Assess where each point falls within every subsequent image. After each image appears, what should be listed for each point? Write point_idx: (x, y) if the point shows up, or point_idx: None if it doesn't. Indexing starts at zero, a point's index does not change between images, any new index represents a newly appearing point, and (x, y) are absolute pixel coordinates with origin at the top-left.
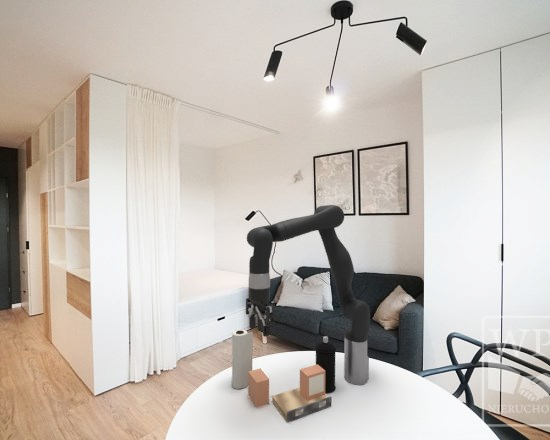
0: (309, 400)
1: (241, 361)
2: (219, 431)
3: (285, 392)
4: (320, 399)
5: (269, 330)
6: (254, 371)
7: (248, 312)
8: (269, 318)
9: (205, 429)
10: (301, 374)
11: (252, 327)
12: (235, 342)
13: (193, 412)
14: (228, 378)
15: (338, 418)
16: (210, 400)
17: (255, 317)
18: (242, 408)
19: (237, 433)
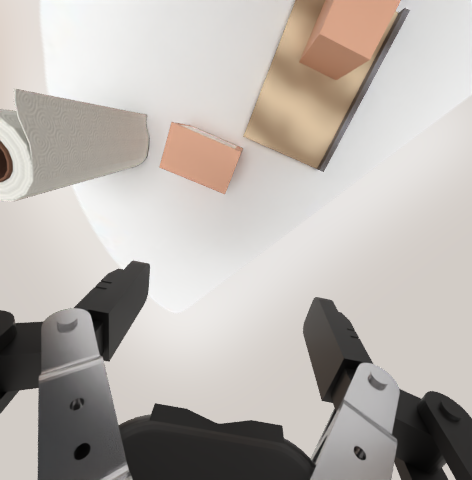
0: None
1: (110, 163)
2: (224, 270)
3: (262, 93)
4: None
5: (356, 338)
6: (173, 152)
7: (11, 386)
8: (392, 423)
9: (203, 281)
10: (326, 45)
11: (146, 287)
12: (43, 192)
13: None
14: None
15: (425, 60)
16: (137, 231)
17: (109, 313)
18: (208, 203)
19: (253, 253)
